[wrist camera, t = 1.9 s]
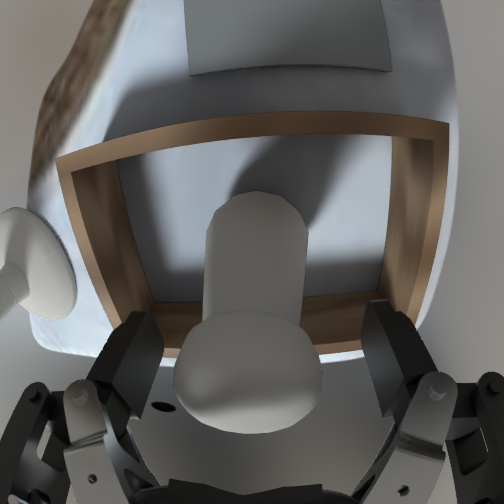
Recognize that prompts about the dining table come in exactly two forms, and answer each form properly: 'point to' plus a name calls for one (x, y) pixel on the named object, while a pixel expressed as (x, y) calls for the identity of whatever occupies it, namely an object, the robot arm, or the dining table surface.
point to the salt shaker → (251, 322)
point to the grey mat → (285, 34)
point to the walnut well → (254, 125)
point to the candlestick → (33, 268)
